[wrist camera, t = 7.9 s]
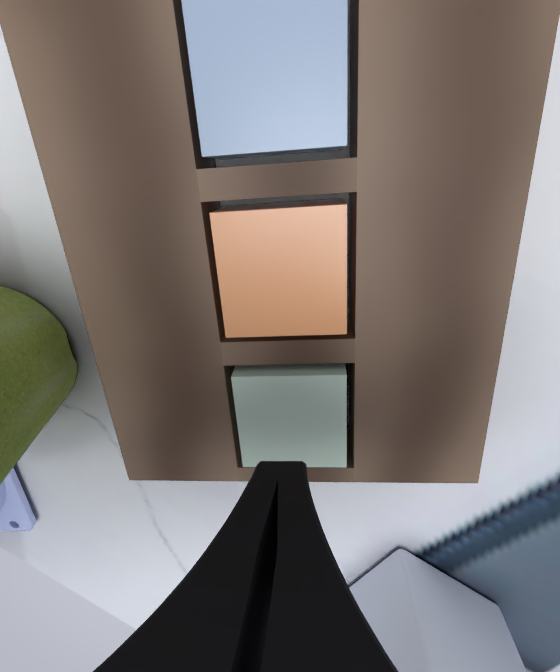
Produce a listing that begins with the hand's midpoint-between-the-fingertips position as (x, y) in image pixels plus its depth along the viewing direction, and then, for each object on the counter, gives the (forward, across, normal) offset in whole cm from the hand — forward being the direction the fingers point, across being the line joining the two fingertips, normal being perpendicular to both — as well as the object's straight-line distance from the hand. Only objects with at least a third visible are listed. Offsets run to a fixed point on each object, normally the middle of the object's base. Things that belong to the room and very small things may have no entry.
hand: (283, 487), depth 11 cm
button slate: (+5, 0, -11) cm, 12 cm away
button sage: (+5, 0, 0) cm, 5 cm away
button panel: (+6, 0, -6) cm, 8 cm away
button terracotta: (+5, 0, -5) cm, 8 cm away
